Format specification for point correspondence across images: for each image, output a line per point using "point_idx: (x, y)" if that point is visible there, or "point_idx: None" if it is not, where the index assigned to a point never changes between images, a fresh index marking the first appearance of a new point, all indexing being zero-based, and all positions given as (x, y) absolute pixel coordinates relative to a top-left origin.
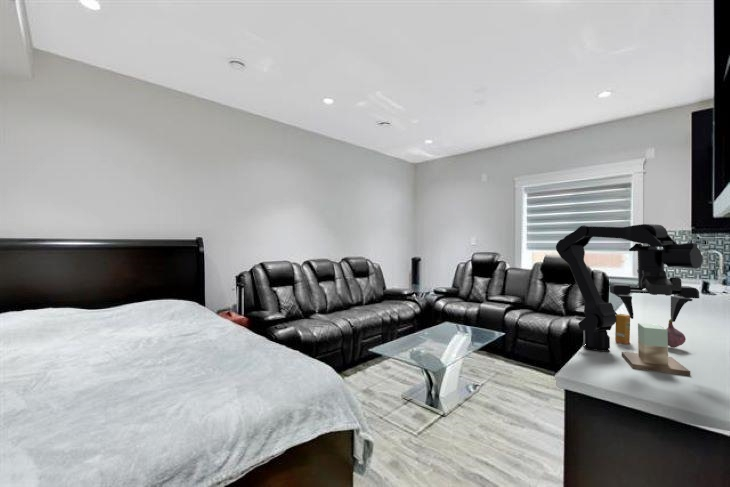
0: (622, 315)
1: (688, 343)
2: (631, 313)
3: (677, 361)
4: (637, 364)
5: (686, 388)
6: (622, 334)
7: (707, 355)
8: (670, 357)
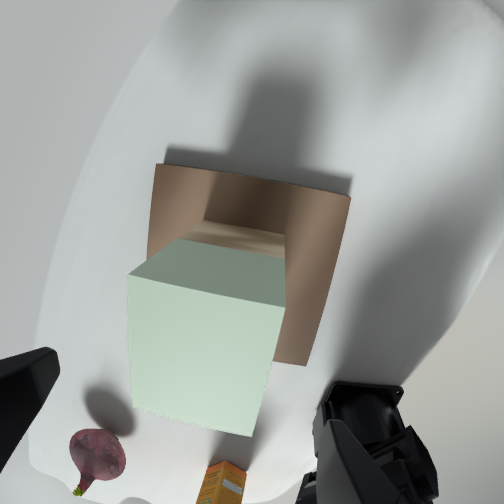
0: None
1: None
2: (354, 453)
3: None
4: (334, 194)
5: (253, 24)
6: (227, 486)
7: None
8: None
